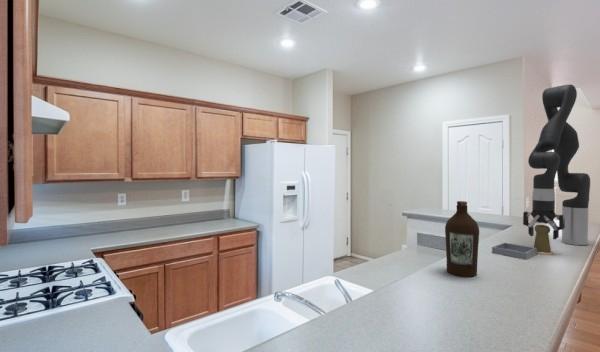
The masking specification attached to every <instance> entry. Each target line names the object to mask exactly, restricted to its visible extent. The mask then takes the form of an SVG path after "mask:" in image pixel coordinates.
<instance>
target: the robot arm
mask: <svg viewBox="0 0 600 352" xmlns="http://www.w3.org/2000/svg"><path fill="white" fill-rule="evenodd" d="M541 95H542V97H541V98H542V104H543V108H544V111H545V115H546V117H547V118H546V119H547V122H546V123H545V125H544V126H543V127H542V129H541V132H540V135H539V139H538V142H537V144H536V145H535V147H534V148H533V149H532V151H531V152H530V154H529V156H528V161H527V162H528V165H529V167H530V168H532V169H537V170H540V169H541V170H544V169H545V172H544V173H540V174H536V175H534V176H533V180H532V181H533V187H532V188H533V189H532V197H531V198H532V204H531V205H532V206H531V207H532V211H523V216H522V217H523V218H522V219H523V221H522V224H523V226H526V227H528V229H527V230H528V235H529V236H530V237H533V236H534V233H535V232H534V231H535V225H536V224H537V223H539V224H541V223H542V224H545V225H546V224H548V225H549V227H551V228H552V229H553V230H552V239H553V240H557V239H558V238H560V235H559V234H560V231H561V242H562V243H563V244H567V245H568V244H569V245H575V246H587V245H588V244H589V203H590V191H591V178H590V175H589V174H588V173H585V172H584V173H583V172H569V165H570V163H571V160H572V159H573V158H574V156H575V155H576V153H578V151H579V149H580V141H579V136H578V132H577V131H576V129H575V128H574V127H573V126H572V125H571V124H570V123H568V122H567V121H568V119H569V117H570V114H571V112H572V110H573V107H574V105H575V103H576V101H577V96H578V92H577V89H576V86H575V85H573V84H564V85H558V86H553V87H549V88H546V89H543V92H542V94H541ZM552 150H553V151H552ZM556 175H557V185H558V188H559V190H560V191H561V192H563V193H573V194H574V193H575V194H576V196H574V197H572V198H569V199H564V200H562V203H561V204H562V205H561V207H562V209H561V212H562V214H557V213H556V211H555V210H556V194H555V180H556ZM530 216H531V217H532V218H533V219H532V220H531V221H530V222H529V218H530ZM555 218H556V219H557V221H558V224H557V223H556V222H555Z"/></svg>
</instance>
